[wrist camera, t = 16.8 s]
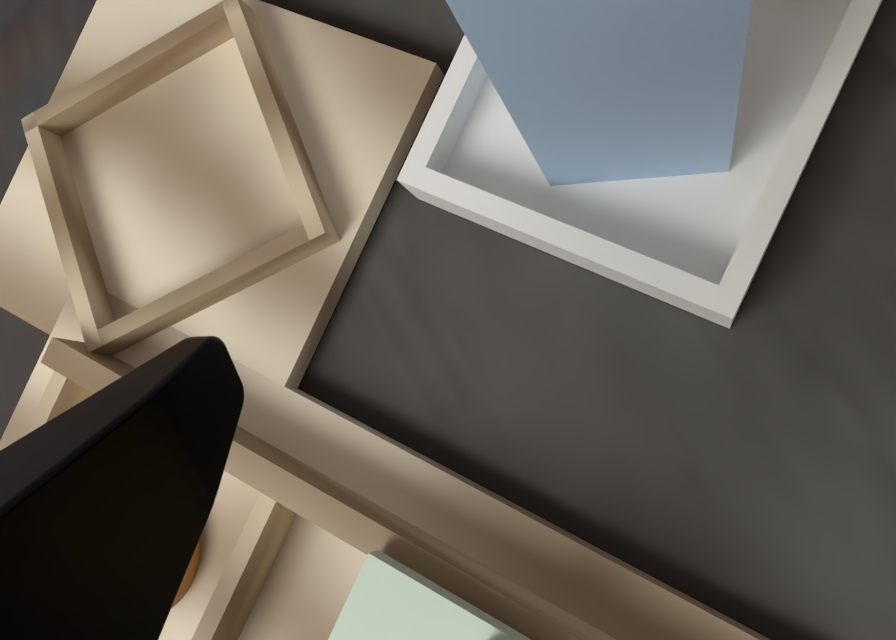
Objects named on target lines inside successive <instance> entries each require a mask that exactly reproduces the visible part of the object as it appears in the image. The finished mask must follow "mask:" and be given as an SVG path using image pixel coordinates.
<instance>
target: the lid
mask: <svg viewBox="0 0 896 640" xmlns="http://www.w3.org/2000/svg"><path fill="white" fill-rule="evenodd" d="M328 640H531V639H530V638H528V637H526V636H524V635H523V634H521V633H519V632H518V631H516V630H514V629H512V628H511V627H509V626H507V625H506V624H504V623H502V622H500V621H499V620H497V619H495V618H494V617H492V616H490V615H489V614H487V613H485V612H483V611H482V610H480V609H478V608H477V607H475V606H473V605H471V604H470V603H468V602H466V601H465V600H463V599H461V598H459V597H458V596H456V595H454V594H453V593H451V592H449V591H447V590H446V589H444V588H442V587H441V586H439V585H437V584H435V583H434V582H432V581H430V580H429V579H427V578H425V577H423V576H422V575H420V574H418V573H417V572H415V571H413V570H412V569H410V568H408V567H406V566H405V565H403V564H401V563H400V562H398V561H396V560H394V559H393V558H391V557H389V556H388V555H386V554H384V553H382V552H381V551H379V550H376V551H373V552H370V553H368V555H367V557H366V560H365V562H364V564H363V566H362V568H361V570H360V572H359V574H358V577H357V579H356V581H355V583H354V585H353V587H352V589H351V592H350V594H349V596H348V598H347V600H346V602H345V604H344V607H343V609H342V611H341V613H340V615H339V617H338V619H337V622H336V624H335V626H334V628H333V630H332V632H331V634H330V636H329V639H328Z"/></svg>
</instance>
